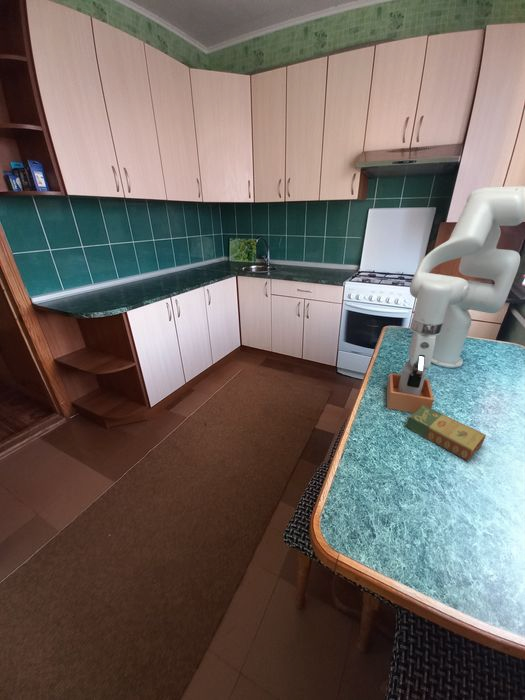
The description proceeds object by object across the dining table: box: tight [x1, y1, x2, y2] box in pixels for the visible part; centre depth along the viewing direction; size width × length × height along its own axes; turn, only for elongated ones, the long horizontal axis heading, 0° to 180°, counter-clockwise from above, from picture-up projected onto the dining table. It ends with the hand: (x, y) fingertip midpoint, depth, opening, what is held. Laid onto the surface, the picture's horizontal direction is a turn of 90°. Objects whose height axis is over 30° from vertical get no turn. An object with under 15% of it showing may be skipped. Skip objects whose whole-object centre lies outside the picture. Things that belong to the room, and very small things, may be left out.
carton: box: [406, 405, 486, 462], centre depth 77 cm, size 8×16×4 cm, turn 38°
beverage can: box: [397, 361, 427, 396], centre depth 89 cm, size 6×6×12 cm
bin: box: [386, 372, 435, 414], centre depth 91 cm, size 12×12×6 cm
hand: (411, 379), depth 89 cm, fingers closed on beverage can, 6 cm apart
